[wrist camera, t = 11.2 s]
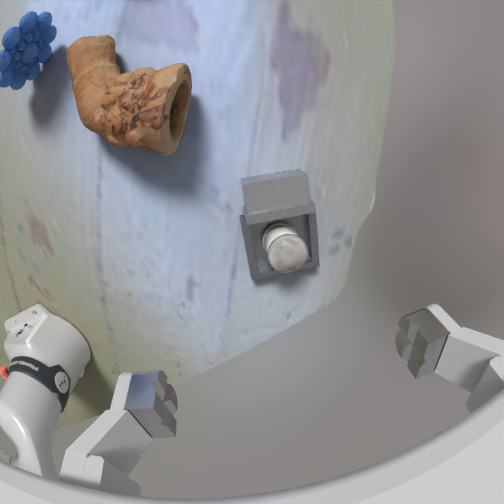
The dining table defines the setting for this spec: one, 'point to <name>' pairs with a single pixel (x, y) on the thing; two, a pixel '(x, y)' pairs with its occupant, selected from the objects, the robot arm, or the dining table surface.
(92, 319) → the dining table surface
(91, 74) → the clay pipe
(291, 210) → the grey open square box
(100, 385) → the dining table surface
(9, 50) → the grapes
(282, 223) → the white domed knob
